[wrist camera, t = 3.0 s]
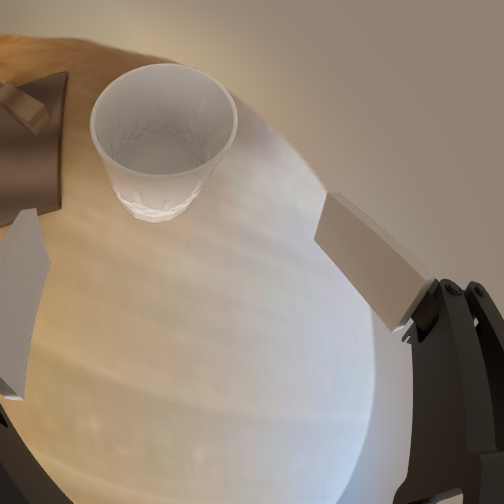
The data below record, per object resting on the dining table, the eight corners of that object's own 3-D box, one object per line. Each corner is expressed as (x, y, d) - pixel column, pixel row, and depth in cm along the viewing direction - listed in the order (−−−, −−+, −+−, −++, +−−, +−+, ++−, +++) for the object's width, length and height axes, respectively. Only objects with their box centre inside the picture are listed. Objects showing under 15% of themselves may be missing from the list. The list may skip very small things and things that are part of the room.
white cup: (144, 130, 22) (150, 48, 12) (218, 170, 24) (260, 101, 14) (93, 202, 19) (60, 137, 10) (174, 248, 21) (191, 209, 12)
